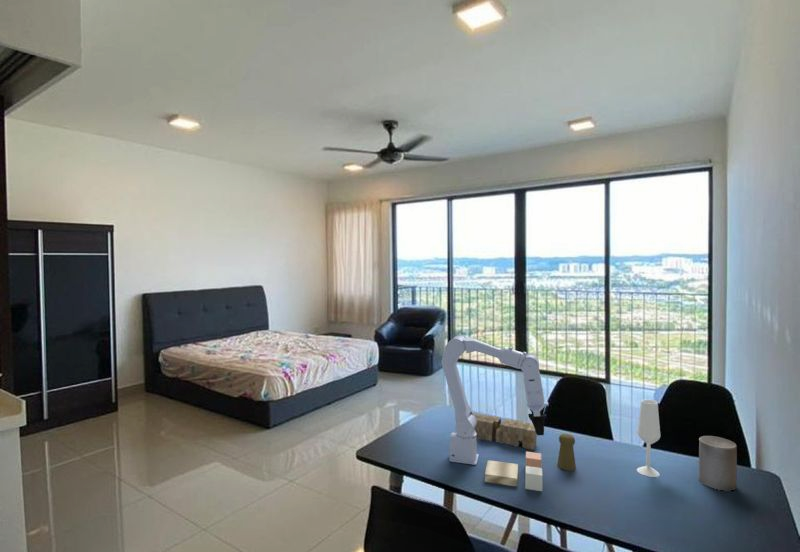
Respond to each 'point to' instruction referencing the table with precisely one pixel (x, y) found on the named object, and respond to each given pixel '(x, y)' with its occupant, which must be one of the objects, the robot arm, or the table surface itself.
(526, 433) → the block tower
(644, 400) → the champagne flute
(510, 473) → the birch base block
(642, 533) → the table surface
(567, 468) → the cork
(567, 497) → the table surface
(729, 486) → the pillar candle
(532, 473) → the off-white cube
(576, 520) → the table surface
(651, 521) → the table surface
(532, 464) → the terracotta cube
